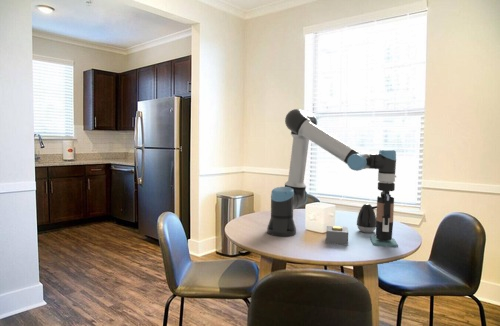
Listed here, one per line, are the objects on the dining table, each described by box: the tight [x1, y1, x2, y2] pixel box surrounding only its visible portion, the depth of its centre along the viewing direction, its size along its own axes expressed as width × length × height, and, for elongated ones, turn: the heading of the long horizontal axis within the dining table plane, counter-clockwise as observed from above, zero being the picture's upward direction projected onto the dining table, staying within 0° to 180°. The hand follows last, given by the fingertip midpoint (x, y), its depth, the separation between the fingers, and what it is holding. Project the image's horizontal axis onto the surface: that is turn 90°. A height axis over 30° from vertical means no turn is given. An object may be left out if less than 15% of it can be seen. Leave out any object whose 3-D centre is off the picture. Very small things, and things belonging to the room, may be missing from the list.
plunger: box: [332, 225, 343, 231], centre depth 168 cm, size 4×4×6 cm
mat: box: [370, 236, 399, 248], centre depth 167 cm, size 11×11×1 cm
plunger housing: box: [325, 225, 349, 246], centre depth 168 cm, size 10×10×6 cm
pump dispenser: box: [356, 203, 377, 234], centre depth 186 cm, size 10×10×15 cm
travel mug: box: [375, 195, 395, 241], centre depth 166 cm, size 8×8×20 cm
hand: (384, 229), depth 167 cm, fingers open, 8 cm apart
